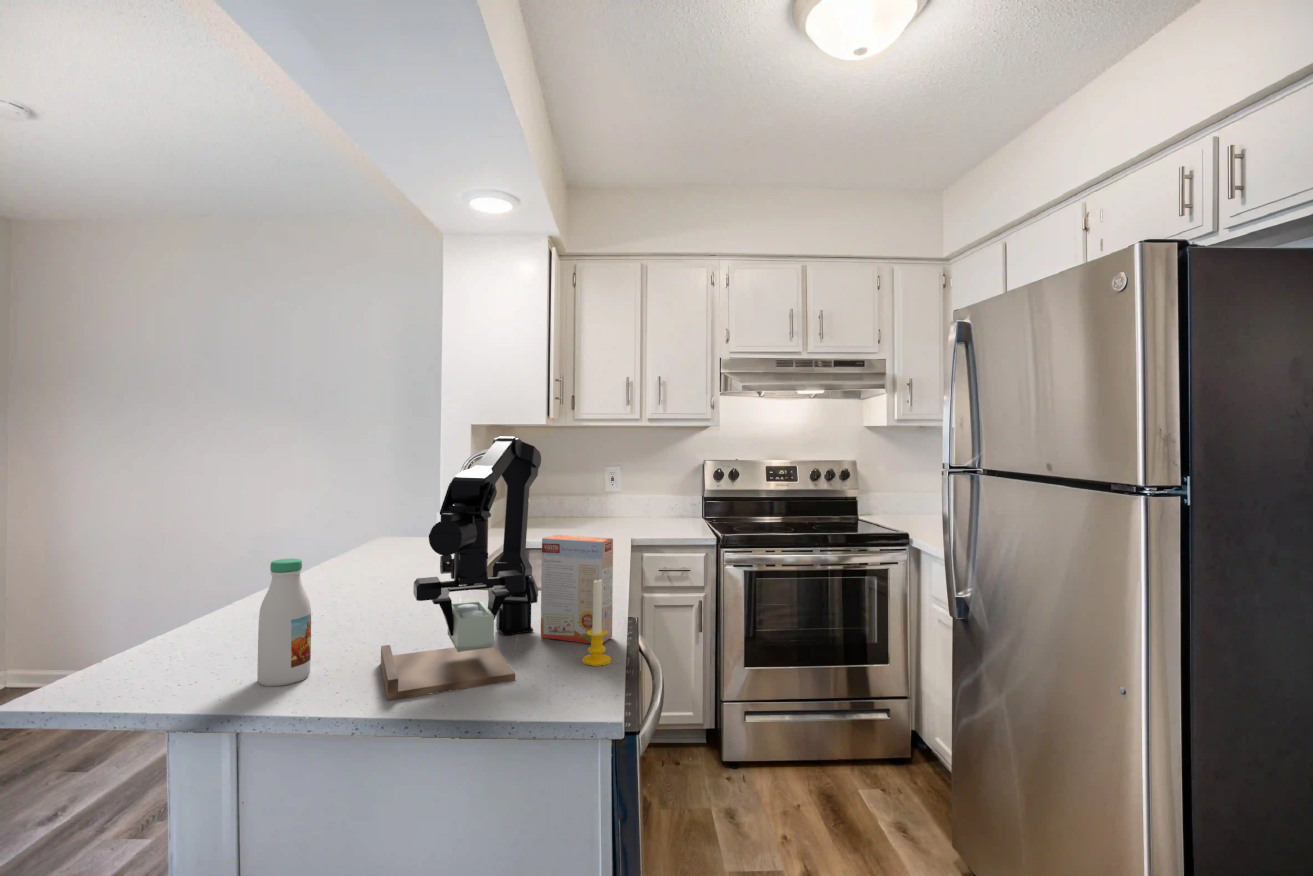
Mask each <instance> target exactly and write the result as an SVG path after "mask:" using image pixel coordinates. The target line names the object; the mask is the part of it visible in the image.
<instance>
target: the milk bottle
mask: <svg viewBox="0 0 1313 876" xmlns="http://www.w3.org/2000/svg"><path fill="white" fill-rule="evenodd" d="M302 568H303V560H302V559H301V558H293V557H292V558H290V557H289V558H280V559H276V560H272V561H271V562H270V573H269V574H270V576H271V580H270V581H271V582H270V585H269V588H268V589H267V592H266V594H265V596H264V597H263V600H262V602H261V604H260V608H259V615H258V631H257V633H258V634H257V637H258V638H257V682H258V683H259V685H262V686H265V687H279V686H280V687H281V686H287V685H292V684H295V683H298V682H301V681H303V680H305V679H306V678H308V677H309V675H310V673H311V662H312V660H311V659H312V658H311V656H312V655H311V653H312V652H311V650H312V608H311V607H312V605H311V601H310V597H309V596H308V593H307V591H306V590H305V588H304V586H303V582H302V579H301V573H303V571H302Z"/></svg>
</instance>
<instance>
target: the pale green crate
mask: <svg viewBox="0 0 1313 876" xmlns="http://www.w3.org/2000/svg"><path fill="white" fill-rule="evenodd" d="M452 612H453V626H454V630H453V636H451V635H450V633H449V630H448V629H447V635H448V637H449V639H450V641H451V643H452V645H453V646H454V647H455V648H456V650H457V652H462V651H470V650H477V649H484V648H492V647H494V645H495V643H494V641H495V640H494V638H495V637H494V635H495V619H494V615H493V614H492V613H491V611H490V610H489V609H488V606H486V604H485V603H484V602H483V601H482V600H475V601H464V602H463V601H462V602H452Z"/></svg>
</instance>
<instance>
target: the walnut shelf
mask: <svg viewBox="0 0 1313 876" xmlns="http://www.w3.org/2000/svg"><path fill="white" fill-rule="evenodd" d="M380 667H381V672H382V677H383V684H384V690H385V694H386V699H387V702H389V701H396V700H401V699H408V698H413V697H414V696H415V697H419V696H420V695H421V696H426V695H425V694H427V695H431V694H430V693H434V694H438V693H437V692H440V693H444V692H443V691H446V692H450V691H449V690H452V691H457V690H456V689H459V690H463V689H462V688H465V689H471V688H477V687H483V686H487V685H488V686H489V685H494V684H501V683H507V682H513V681H516V672H515V671H514V670H513V668H512V667H511V665H510V664H509V662H508V661H507V660H506V659H505V658H504V656H503V654H502V653H501V652H500V651H499V649H498V648H497V647H496V645H495V644H494V647H492V648H484V649H477V650H470V651H462V652H457V650H456V648H455V646H454V647H447V648H440V649H438V648H437V649H432V650H431V649H430V650H423V651H416V652H409V653H401V654H395V655H394V654H393V651H392V647H391V645H390V644H387V645H386V644H385V645H380ZM470 687H471V688H470Z"/></svg>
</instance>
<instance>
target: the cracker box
mask: <svg viewBox="0 0 1313 876" xmlns="http://www.w3.org/2000/svg"><path fill="white" fill-rule="evenodd" d="M540 576H541V579H540V580H541V582H540V583H541V586H540V587H541V589H540V594H541V595H540V638H542V639H551V640H559V641H560V640H561V641H566V642H567V641H569V642H575V643H584V644H590V643H591V639H592V638H591V635H588V634H587V631H589V630H592V626H593V588H594V581H595V580H597V579H598V580H602V630H606V631H607V632H608V633H607V634H606V635H603V638H602V639H603V644H604V643H606V642H607V641H609V640H610V639H611V638H613V593H614V591H613V590H614V589H613V588H614V587H613V585H614V584H613V582H614V581H613V580H614V539H613V538H611V537H609V538H608V537H596V536H584V535H583V536H581V535H564V534H563V535H562V534H552V535H548V536H545V537H542V538H541V574H540Z"/></svg>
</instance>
